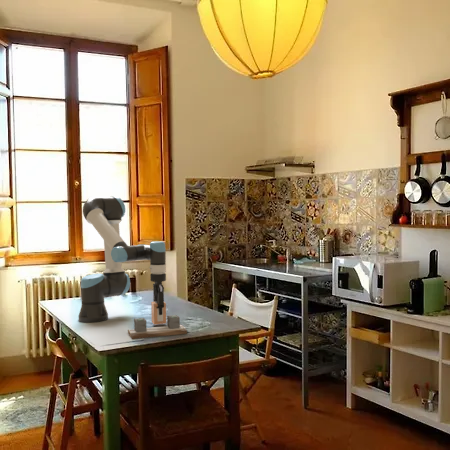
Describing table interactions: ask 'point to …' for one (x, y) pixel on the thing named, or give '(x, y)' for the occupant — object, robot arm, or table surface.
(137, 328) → the wooden fixture stand
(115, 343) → the table surface
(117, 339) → the table surface
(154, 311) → the block
